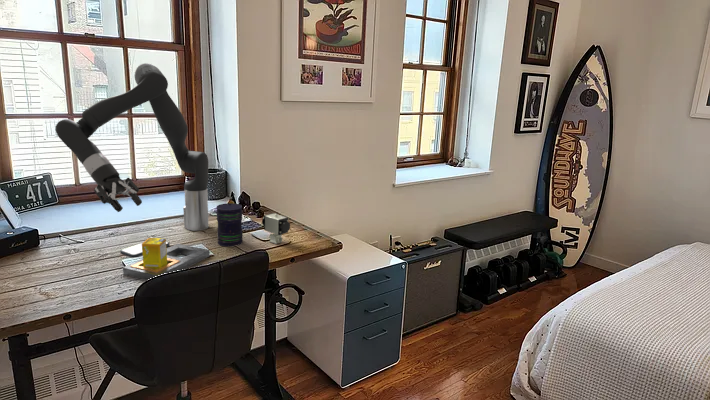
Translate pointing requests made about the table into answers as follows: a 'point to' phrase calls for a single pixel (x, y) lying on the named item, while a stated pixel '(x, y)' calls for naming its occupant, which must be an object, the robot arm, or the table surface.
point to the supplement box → (154, 253)
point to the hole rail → (168, 262)
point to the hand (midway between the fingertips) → (130, 207)
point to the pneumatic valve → (276, 226)
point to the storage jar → (229, 224)
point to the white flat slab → (135, 250)
